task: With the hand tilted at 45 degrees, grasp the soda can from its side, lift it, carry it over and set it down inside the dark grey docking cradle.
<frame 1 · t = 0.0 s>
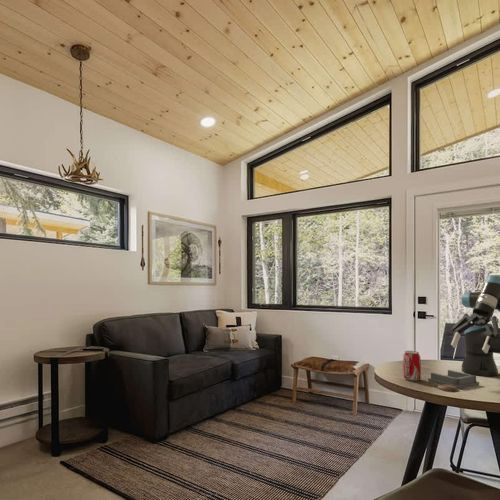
hand: (468, 349, 166), 15 cm above the table, tool tilted 35°, fingers open, 13 cm apart
walnut coaster: (447, 389, 161), on the table
soda can: (412, 380, 175), on the table
dock: (453, 383, 170), on the table
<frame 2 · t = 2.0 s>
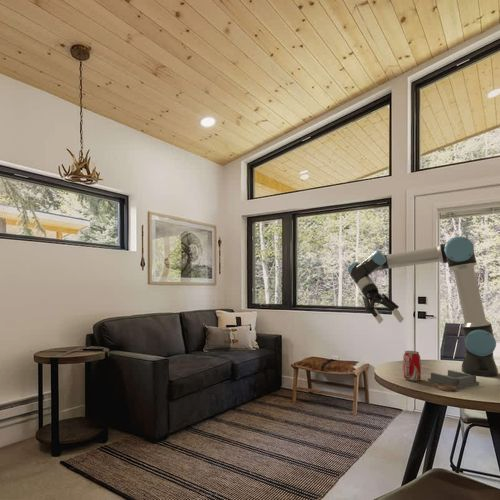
hand: (391, 321, 187), 24 cm above the table, tool tilted 45°, fingers open, 13 cm apart
nothing on the table moved.
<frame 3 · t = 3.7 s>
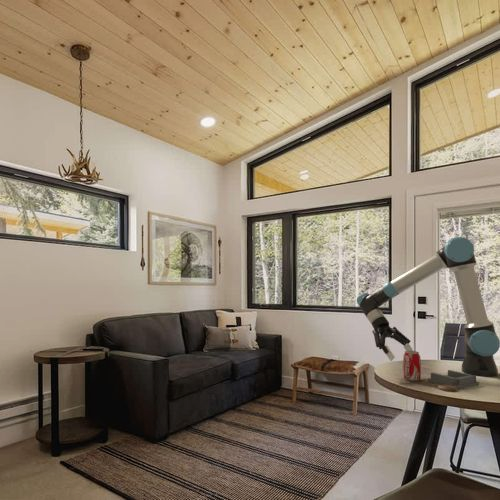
hand: (403, 358, 179), 9 cm above the table, tool tilted 45°, fingers open, 13 cm apart
nothing on the table moved.
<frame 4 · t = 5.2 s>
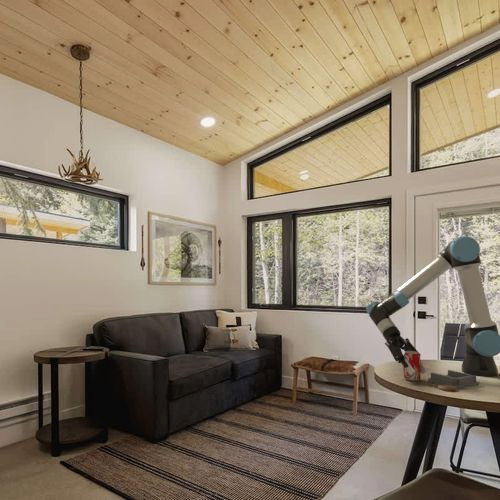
hand: (418, 372, 173), 4 cm above the table, tool tilted 45°, fingers closed on soda can, 7 cm apart
soda can: (412, 380, 175), on the table, touching gripper
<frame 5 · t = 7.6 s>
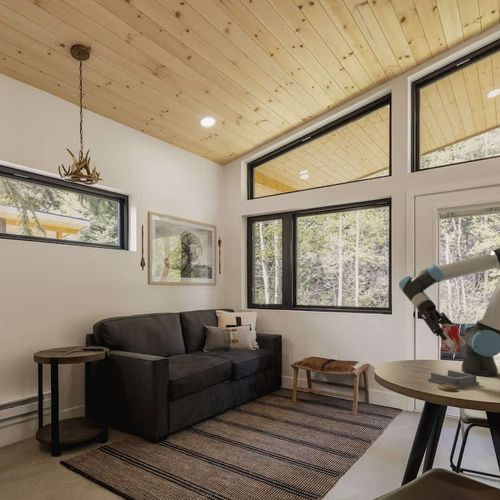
hand: (457, 345, 169), 16 cm above the table, tool tilted 45°, fingers closed on soda can, 7 cm apart
soda can: (450, 353, 172), point 12 cm above the table, touching gripper
when the fingers open (6 cm above the table, at t = 9.8 s): soda can drops 2 cm, resting on dock.
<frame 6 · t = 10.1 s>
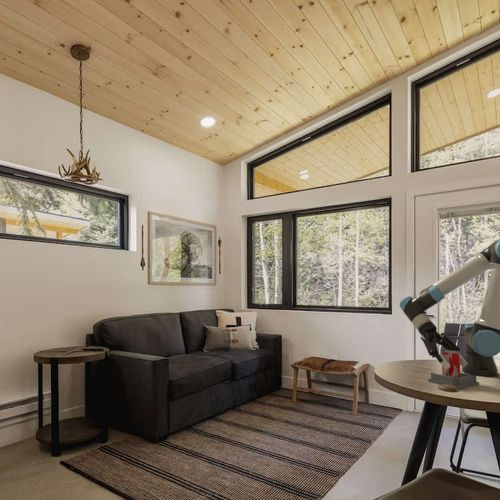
hand: (456, 366, 169), 7 cm above the table, tool tilted 45°, fingers open, 11 cm apart
soda can: (451, 380, 171), point 1 cm above the table, touching dock
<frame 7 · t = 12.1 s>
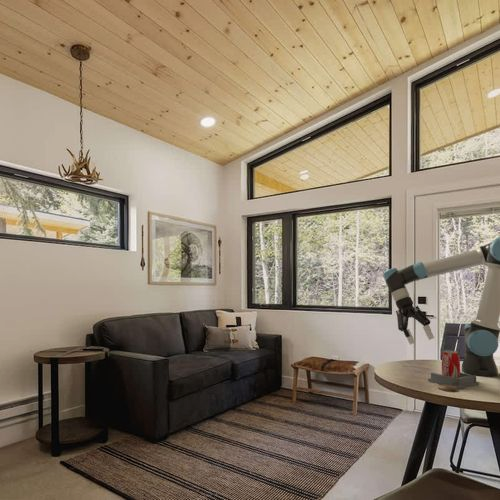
hand: (422, 341, 185), 15 cm above the table, tool tilted 25°, fingers open, 13 cm apart
nothing on the table moved.
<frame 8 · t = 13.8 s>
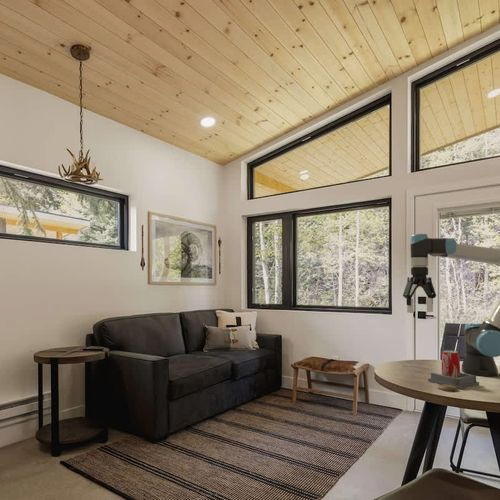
hand: (420, 312, 186), 29 cm above the table, tool pointing down, fingers open, 13 cm apart
nothing on the table moved.
at the end: soda can inside the target area on the dock (0.2 cm from its centre), point 1.0 cm above the dock's base; soda can tilted 0°; the gripper is holding nothing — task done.
